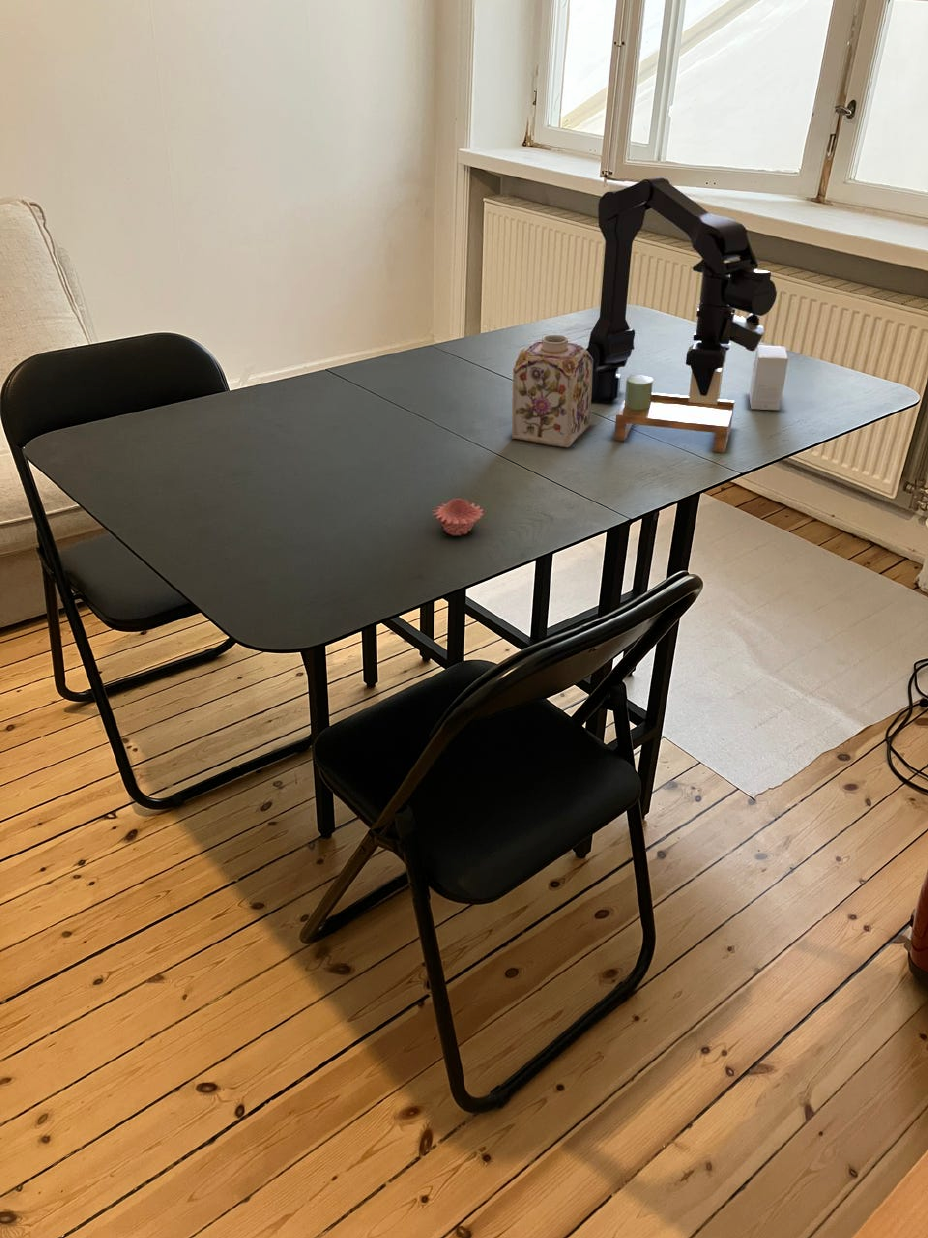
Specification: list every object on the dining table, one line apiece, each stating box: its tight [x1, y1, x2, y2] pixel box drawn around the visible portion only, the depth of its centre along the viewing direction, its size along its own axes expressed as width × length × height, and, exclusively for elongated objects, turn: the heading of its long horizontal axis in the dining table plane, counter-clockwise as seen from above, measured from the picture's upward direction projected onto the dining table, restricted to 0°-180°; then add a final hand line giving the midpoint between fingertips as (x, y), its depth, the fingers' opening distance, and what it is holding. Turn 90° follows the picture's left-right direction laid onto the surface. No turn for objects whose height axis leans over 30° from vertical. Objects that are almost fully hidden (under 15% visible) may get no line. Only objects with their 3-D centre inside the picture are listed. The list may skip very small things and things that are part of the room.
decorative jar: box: [511, 334, 594, 448], centre depth 184 cm, size 12×12×18 cm
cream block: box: [688, 365, 725, 405], centre depth 178 cm, size 5×5×6 cm
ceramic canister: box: [624, 374, 654, 410], centre depth 185 cm, size 5×5×5 cm
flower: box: [432, 498, 485, 536], centre depth 154 cm, size 8×8×6 cm
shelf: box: [613, 392, 735, 453], centre depth 185 cm, size 20×11×6 cm, turn 72°
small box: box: [749, 344, 789, 411], centre depth 197 cm, size 8×6×10 cm
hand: (705, 390), depth 179 cm, fingers closed on cream block, 5 cm apart
